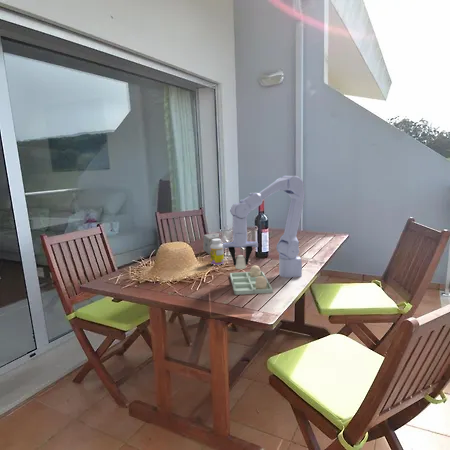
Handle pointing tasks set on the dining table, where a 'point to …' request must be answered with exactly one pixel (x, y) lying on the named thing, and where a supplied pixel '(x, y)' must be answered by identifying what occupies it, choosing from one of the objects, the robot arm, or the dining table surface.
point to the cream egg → (240, 262)
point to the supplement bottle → (216, 252)
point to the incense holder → (209, 241)
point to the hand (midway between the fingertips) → (240, 264)
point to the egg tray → (247, 284)
